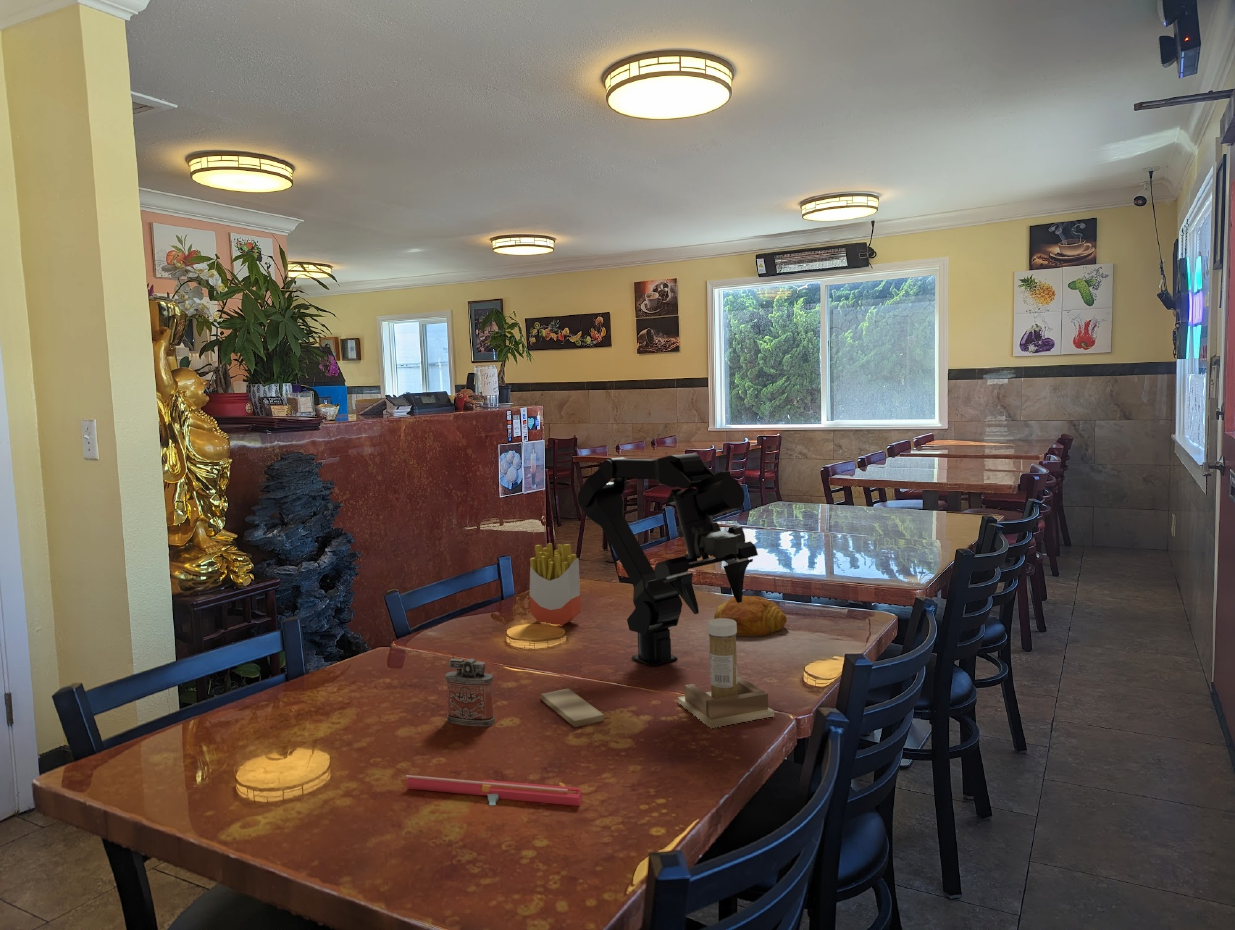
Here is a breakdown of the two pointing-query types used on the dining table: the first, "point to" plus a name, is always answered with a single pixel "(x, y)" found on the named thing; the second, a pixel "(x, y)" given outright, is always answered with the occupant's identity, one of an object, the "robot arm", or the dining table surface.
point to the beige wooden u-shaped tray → (727, 705)
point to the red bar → (499, 790)
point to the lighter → (469, 693)
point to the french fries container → (554, 585)
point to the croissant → (753, 615)
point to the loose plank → (572, 707)
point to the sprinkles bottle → (723, 657)
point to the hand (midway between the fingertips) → (718, 608)
